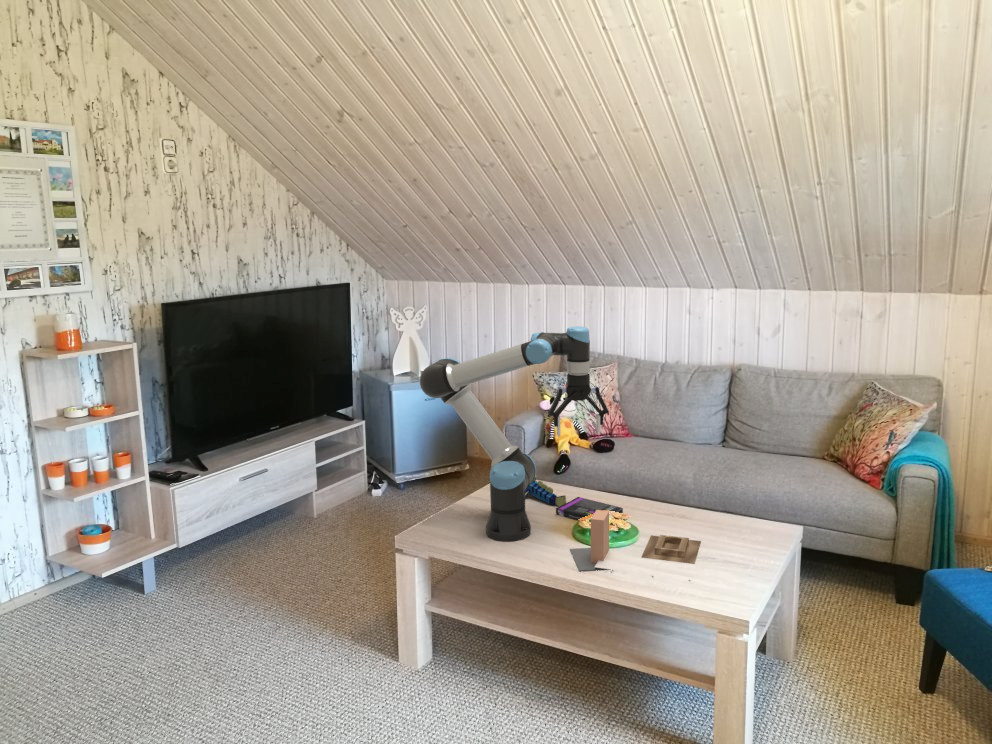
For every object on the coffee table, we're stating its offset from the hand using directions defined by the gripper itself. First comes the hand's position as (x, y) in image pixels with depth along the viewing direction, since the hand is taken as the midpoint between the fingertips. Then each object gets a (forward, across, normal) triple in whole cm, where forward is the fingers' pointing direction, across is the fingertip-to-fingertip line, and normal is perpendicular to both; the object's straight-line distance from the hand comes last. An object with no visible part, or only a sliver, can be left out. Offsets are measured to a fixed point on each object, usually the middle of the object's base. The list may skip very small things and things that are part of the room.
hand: (578, 434), depth 271 cm
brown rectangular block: (+31, -1, +30) cm, 43 cm away
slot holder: (+32, -24, +29) cm, 49 cm away
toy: (+32, +9, -24) cm, 41 cm away
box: (+32, -5, -7) cm, 34 cm away
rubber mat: (+32, -1, +30) cm, 44 cm away
